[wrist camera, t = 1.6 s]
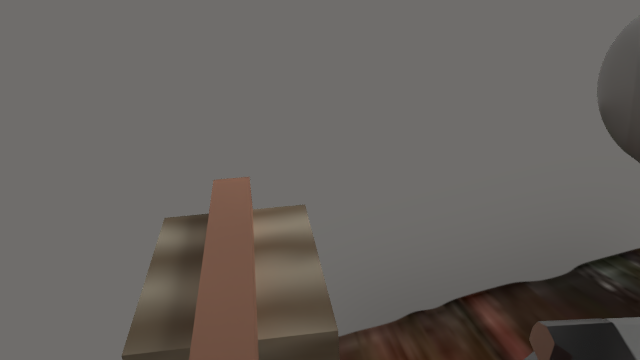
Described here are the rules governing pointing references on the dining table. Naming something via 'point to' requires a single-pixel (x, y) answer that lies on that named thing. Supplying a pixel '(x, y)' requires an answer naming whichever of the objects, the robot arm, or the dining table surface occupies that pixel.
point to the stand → (271, 290)
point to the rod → (227, 278)
